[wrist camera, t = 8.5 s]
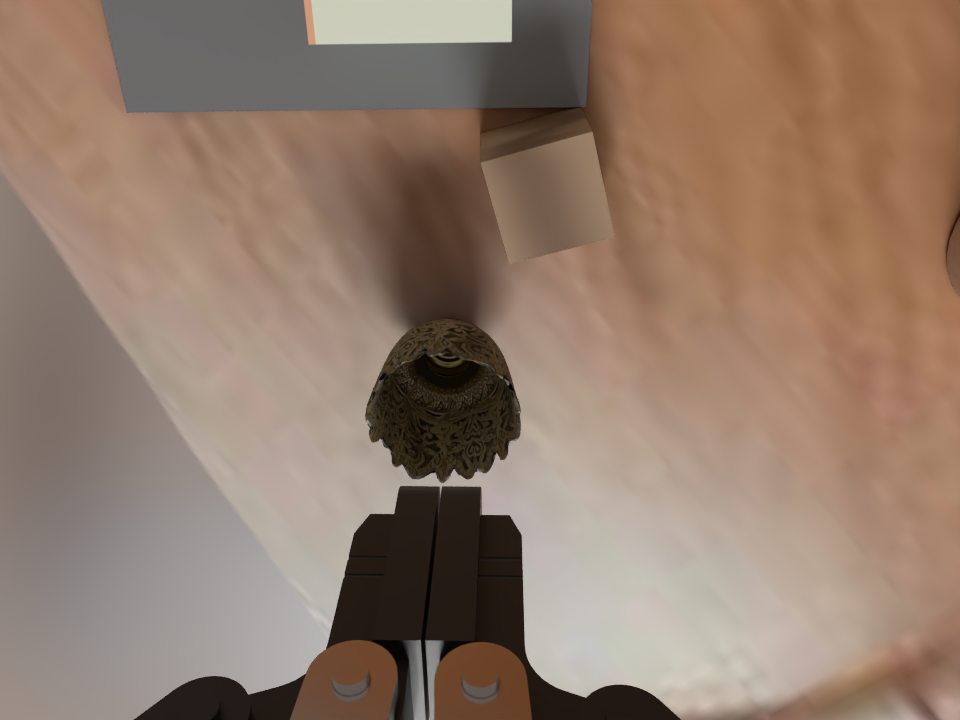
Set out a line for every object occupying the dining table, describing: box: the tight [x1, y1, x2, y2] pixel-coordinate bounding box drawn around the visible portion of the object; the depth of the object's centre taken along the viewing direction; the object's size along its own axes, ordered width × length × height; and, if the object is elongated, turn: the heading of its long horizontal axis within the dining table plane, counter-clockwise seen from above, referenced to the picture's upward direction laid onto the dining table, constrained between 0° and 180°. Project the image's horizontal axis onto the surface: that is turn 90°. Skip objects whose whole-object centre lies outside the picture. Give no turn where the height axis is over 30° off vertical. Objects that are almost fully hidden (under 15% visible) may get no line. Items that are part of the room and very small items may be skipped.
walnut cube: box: [480, 107, 614, 264], centre depth 38 cm, size 5×5×5 cm
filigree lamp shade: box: [365, 319, 521, 483], centre depth 42 cm, size 8×7×8 cm
